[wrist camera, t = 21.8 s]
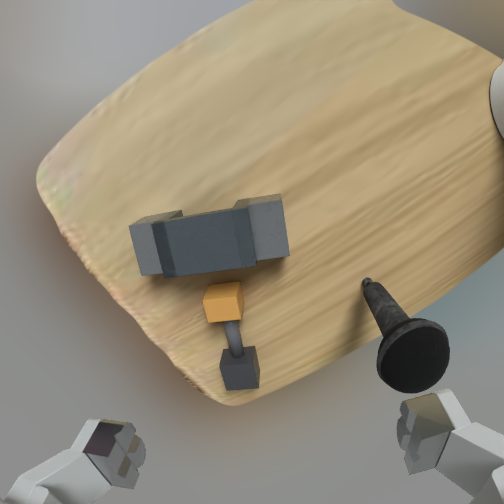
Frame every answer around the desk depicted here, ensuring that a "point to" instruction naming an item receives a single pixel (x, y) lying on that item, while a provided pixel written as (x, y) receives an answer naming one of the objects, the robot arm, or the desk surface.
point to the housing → (211, 238)
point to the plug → (232, 336)
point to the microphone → (406, 344)
